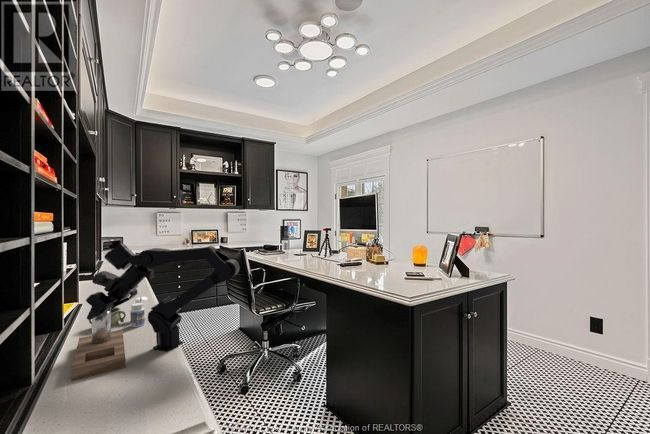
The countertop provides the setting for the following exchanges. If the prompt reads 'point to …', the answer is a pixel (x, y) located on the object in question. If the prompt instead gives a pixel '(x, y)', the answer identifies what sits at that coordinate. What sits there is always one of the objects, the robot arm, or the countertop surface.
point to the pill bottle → (137, 315)
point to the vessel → (115, 317)
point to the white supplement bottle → (144, 301)
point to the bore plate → (98, 356)
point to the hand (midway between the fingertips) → (95, 315)
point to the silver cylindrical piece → (101, 328)
